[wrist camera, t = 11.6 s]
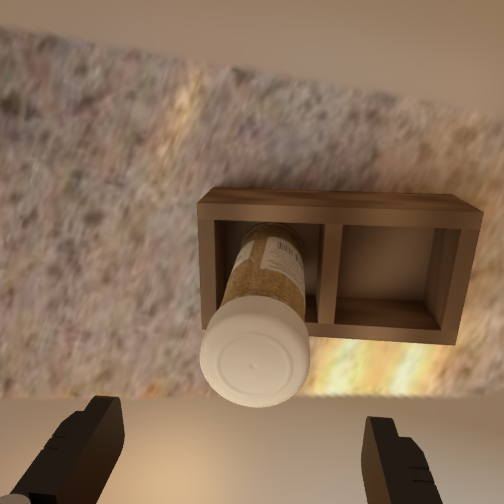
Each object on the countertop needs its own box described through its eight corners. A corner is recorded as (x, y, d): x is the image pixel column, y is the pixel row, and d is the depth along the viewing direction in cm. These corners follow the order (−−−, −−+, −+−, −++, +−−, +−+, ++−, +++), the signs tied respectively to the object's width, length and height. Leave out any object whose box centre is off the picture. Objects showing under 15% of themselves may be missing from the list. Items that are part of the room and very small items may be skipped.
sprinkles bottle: (230, 234, 28) (176, 338, 16) (289, 210, 27) (282, 300, 15) (257, 288, 30) (227, 424, 17) (314, 267, 29) (328, 395, 16)
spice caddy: (215, 297, 31) (201, 329, 27) (213, 187, 28) (196, 202, 24) (431, 309, 30) (455, 345, 25) (452, 194, 27) (483, 212, 22)
